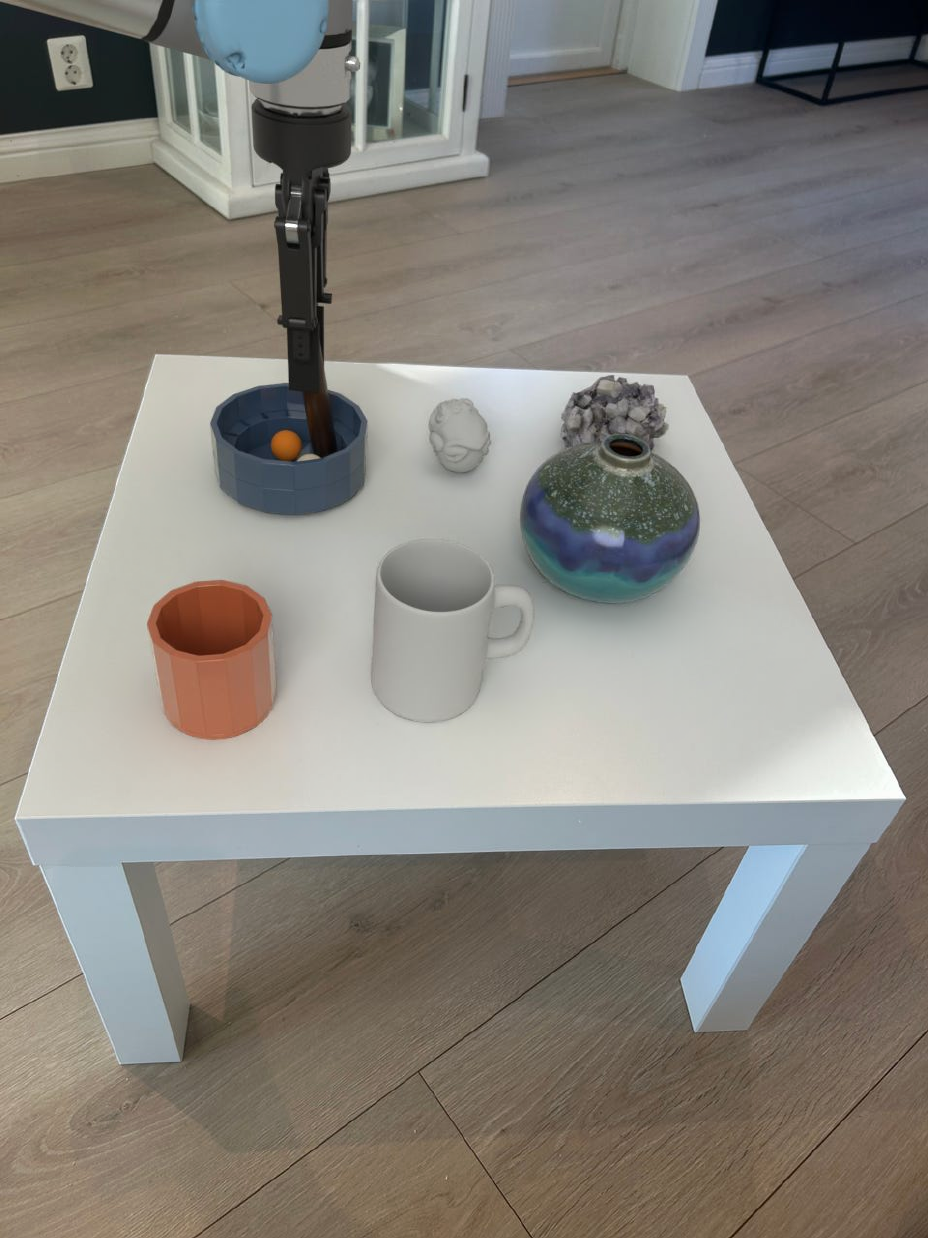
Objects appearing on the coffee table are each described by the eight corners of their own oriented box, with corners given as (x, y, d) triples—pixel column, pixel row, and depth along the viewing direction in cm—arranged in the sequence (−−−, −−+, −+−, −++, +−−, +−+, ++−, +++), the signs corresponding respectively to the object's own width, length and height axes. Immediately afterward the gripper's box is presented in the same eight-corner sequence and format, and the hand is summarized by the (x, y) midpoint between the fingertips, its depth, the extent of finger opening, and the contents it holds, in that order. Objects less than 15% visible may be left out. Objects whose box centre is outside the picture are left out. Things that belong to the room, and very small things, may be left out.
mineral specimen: (556, 446, 95) (610, 355, 93) (528, 427, 103) (577, 342, 101) (650, 501, 100) (704, 415, 97) (617, 478, 108) (666, 398, 106)
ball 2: (297, 488, 93) (287, 458, 92) (327, 478, 93) (317, 448, 92) (303, 491, 90) (292, 460, 89) (333, 481, 91) (323, 450, 90)
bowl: (202, 512, 88) (196, 456, 84) (232, 430, 99) (228, 376, 95) (357, 525, 89) (358, 471, 85) (371, 442, 99) (372, 390, 95)
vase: (668, 528, 93) (704, 406, 84) (693, 637, 82) (737, 510, 73) (510, 514, 92) (529, 389, 83) (512, 622, 81) (535, 492, 72)
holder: (149, 736, 69) (133, 656, 63) (177, 653, 75) (165, 574, 69) (264, 744, 69) (259, 666, 64) (283, 662, 75) (279, 584, 70)
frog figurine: (463, 442, 101) (469, 382, 96) (500, 477, 97) (509, 416, 92) (413, 456, 98) (417, 395, 94) (449, 492, 94) (455, 430, 89)
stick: (309, 462, 94) (274, 277, 82) (324, 450, 96) (292, 267, 83) (329, 468, 93) (296, 282, 81) (343, 455, 95) (314, 271, 82)
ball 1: (271, 460, 95) (261, 448, 92) (284, 433, 96) (274, 421, 93) (298, 470, 95) (288, 458, 92) (311, 442, 95) (301, 430, 92)
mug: (376, 727, 71) (382, 618, 64) (365, 647, 77) (369, 538, 70) (534, 716, 73) (556, 610, 66) (510, 639, 80) (529, 533, 72)
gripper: (339, 137, 67) (337, 429, 83) (361, 79, 79) (356, 346, 95) (231, 125, 67) (250, 421, 83) (269, 69, 78) (279, 338, 94)
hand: (306, 380), depth 89 cm, fingers closed on stick, 2 cm apart
